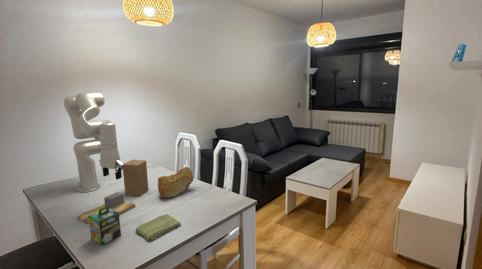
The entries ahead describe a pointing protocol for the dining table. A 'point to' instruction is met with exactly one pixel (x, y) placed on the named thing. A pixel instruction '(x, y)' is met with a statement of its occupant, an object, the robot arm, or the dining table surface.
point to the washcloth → (157, 227)
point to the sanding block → (114, 200)
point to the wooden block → (135, 177)
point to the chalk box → (104, 225)
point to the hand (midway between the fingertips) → (112, 177)
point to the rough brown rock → (175, 183)
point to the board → (120, 209)
